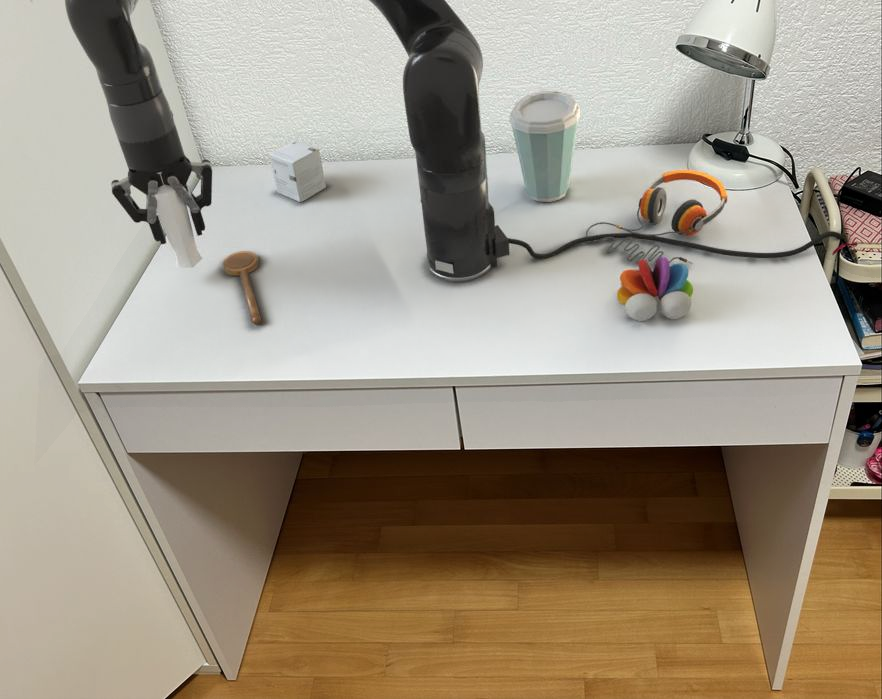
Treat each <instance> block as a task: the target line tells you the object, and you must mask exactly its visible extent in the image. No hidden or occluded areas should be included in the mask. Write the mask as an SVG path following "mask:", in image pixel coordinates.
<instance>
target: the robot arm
mask: <svg viewBox="0 0 882 699" xmlns="http://www.w3.org/2000/svg"><path fill="white" fill-rule="evenodd" d="M138 2H139V0H64V7H65V12H66V14H67V15H66V16H67V19H68V22H69V24H70V27H71V29H72V32H73V33H74V35H75V37H76V39H77V40H78V42H79V44H80V46H81V47H82V49H83V51H84V53H85V54H86V56H87V58H88V59H89V61H90V62H91V64H92V65H93V67H94V68H95V72H96V75H97V78H98V81H99V84H100V87H101V89H102V91H103V95H104V99H105V102H106V105H107V108H108V113H109V117H110V118H109V119H110V122H111V123H112V124H111V125H112V127H113V129H114V132H115V135H116V138H117V140H118V143H119V146H120V149H121V152H122V154H123V157H124V160H125V162H126V166H127V168H128V172H127V176H126V177H125V178H122V179H121V180H118V179H113V180H112V181H111V183H110V184H111V194H112V195H113V197H114V198H115V199H116V200H117V202H118V203H119V204H120V206H121V207H122V208H123V210H124V211H125V212H126V213H127V215H128V216H129V217H130V219H131V220H132V221H133V222H134V223H136V224H139V223H141V222H143V223H147V224H148V225H149V228H150V231H151V234H152V236H153V239H154V241H155V242H160V245H165V244H167V239H166V238H167V237H166V233H165V230H164V228H163V226H162V223H161V221H160V219H159V216H158V214H157V212H156V209H157V199H156V198H155V196H154V195H155V194H157V192H158V188H159V187H161V186H163V183H164V185H169V186H171V187H172V188H173V189H174V190H175V191H176V193H177V194H178V195H179V197H180V198H181V199H182V201H183V202H184V203H186V205H187V208H188V210H189V213H190V216H191V220H192V223H193V227H194V230H195V232H196V236H197V237H200V236H202V235H203V231H205V230H206V224H205V220H204V217H203V214H202V209H203V208H205V207H210V206H211V205H212V196H213V195H212V194H213V169H212V165H211V161H210V160H209V159H203V160H201V162H197V161H194V162H193V161H191V160H190V159H189V158H188V157H187V156H186V154H185V151H184V148H183V146H182V142H181V139H180V135H179V132H178V129H177V125H176V122H175V118H174V113H173V111H172V110H171V106H170V103H169V101H168V99H167V97H166V95H165V92H164V90H163V88H162V84H161V81H160V77H159V74H158V71H157V69H156V65H155V64H156V63H155V62H154V58H153V57H152V55H151V52H150V51H149V49H148V48H147V46H145V45H143V44H141V43H139V40H138V38H137V35H136V33H135V30H134V28H133V23H132V20H131V16H132V15H133V13H134V11H135V9H136V7H137V4H138ZM368 2H370V3H371V4H372V5H373V6H374V7H375V8H376V9H377V10H378V12H380V13H381V14H382V16H383V17H384V19H385V20H386V21H387V23H388V24H389V26H390V28H392V30H393V32H394V33H395V35H396V37H397V38H398V40H399V42H400V44H401V45H402V47H403V49H404V51H405V53H406V55H407V57H408V59H407V61H406V63H405V66H404V69H403V74H402V93H403V103H404V109H405V115H406V123H407V129H408V135H409V140H410V144H411V146H412V148H413V150H414V153H415V161H416V162H415V163H416V169H417V177H418V186H419V194H420V204H421V212H422V220H423V229H424V230H423V231H424V237H425V246H426V258H427V268H428V271H429V272H430V274H431V275H432V276H434V277H435V278H437V279H439V280H442V281H445V282H449V283H464V282H470V281H474V280H477V279H479V278H481V277H483V276H484V275H486V274H487V273H489V271H490V270H492V269H494V268H496V267H498V259H500V258H504V257H506V256H510V245H516V246H519V247H522V248H524V249H526V251H527V253H528V254H529V255H530V257H532V258H534V259H536V260H546V259H550V258H553V257H555V256H557V255H559V254H562V253H564V251H567V250H568V249H570V248H572V247H574V246H576V245H581V244H583V243H588V242H589V243H590V241H596V240H599V239H602V238H605V237H614V238H615V239H625V238H627V237H632V238H633V239H635V240H636V239H637V240H646V241H651V242H652V241H654V242H658V243H663V244H668V245H674V246H679V247H683V248H689V249H694V250H697V251H698V250H699V251H703V252H708V253H711V254H712V253H713V254H717V255H722V256H731V257H737V258H738V257H739V258H750V259H781V258H787V257H792V256H795V255H799V254H801V253H803V252H805V251H807V250H809V249H810V248H812V247H814V246H815V245H816V244H818V243H819V242H821V241H822V240H824V239H827V238H830V237H831V238H832V237H833V238H836V239H837V240H844V239H845V237H844V236H843V234H841V233H840V232H838V231H834V230H833V231H832V230H829V231H826V232H823V233H821V234H819V235H817V236H815V238H813V239H811V240H810V241H808V242H807V243H805V244H803V245H801V246H799V247H797V248H795V249H791V250H786V251H778V252H776V251H775V252H753V251H742V250H741V251H740V250H732V249H726V248H725V249H724V248H718V247H713V246H708V245H704V244H699V243H695V242H690V241H686V240H679V239H673V238H669V237H663V236H660V235H659V236H644V235H638V234H633V233H630V232H614V233H613V232H612V233H611V232H610V233H602V234H595V235H587V236H588V237H586V236H583V237H580V238H576V239H573V240H571V241H569V242H567V243H565V244H563V245H561V246H560V247H559V248H557V249H554V250H553V251H550V252H548V253H537V252H535V250H534V249H533V248H532V246H531V245H530V244H529V243H527V242H525V241H523V240H521V239H516V238H511V237H508V236H507V235H506V234H505V232H504V231H503V230H502V229H501V227H500V226H499V225H498V224H497V225H496V217H495V209H494V206H492V204H491V203H490V200H489V184H488V182H489V181H488V168H487V167H488V166H487V150H486V137H485V134H484V132H483V130H482V124H481V123H482V122H481V110H480V109H481V107H480V92H479V87H480V82H481V79H482V76H483V68H484V58H483V53H482V49H481V47H480V46H481V45H480V44H479V42H478V41H477V39H476V37H475V36H474V34H473V33H472V32H471V31H470V29H469V28H468V27H467V25H466V24H465V23H464V22H463V20H462V19H461V18H460V17H459V15H458V14H457V13H456V12H455V11H454V9H453V8H452V7H451V5H450V4H449V3H448V2H447V1H446V0H368ZM159 172H162V173H161V176H160V174H157V173H159ZM192 172H193V173H194V174H195V175H196V178H197V179H199V180H200V194H199V195H197V196H196V195H195V194H194V193H193V191H192V189H191V187H190V186H189V184H188V182H189V179H190V176H191V174H192ZM161 177H162V179H161ZM162 180H163V182H162ZM131 186H132V187H133V188H135V189H137V190H138V191H140V192H141V193H142V194H144V195H145V200H146V201H145V202H146V203H145V204H146V205H145V208H140V206H139V205H138V204H137V203H136V200H134V198H133V197H132V195H131V193H132V190H131ZM152 195H153V196H152ZM152 201H153V202H152ZM609 239H610V240H613V239H612V238H608V239H607V240H609Z"/></svg>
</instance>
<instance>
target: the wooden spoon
mask: <svg viewBox="0 0 882 699" xmlns="http://www.w3.org/2000/svg"><path fill="white" fill-rule="evenodd" d="M259 262H260V261H259V257H258V255H257V254H256V253H255V252H254V251H253V252H252V251H249V250H242V251H241V250H239V251H236V252H233V253H231V254H230V255H227V257H225V258H224V259H223V261H222V267H223V270H224V273H226V274H227V275H229V276H236V277H237V276H239V277H240V281H241V285H242V289H243V292H244V296H245V300H246V303H247V307H248V311H249V314H250V319H251V322H252V324H254V325H260V324H261V322H262V318H261V315H260V314H261V313H260V312H259V308H258V304H257V300H256V297H255V293H254V289H253V286H252V282H251V279H250V276H249V274H250V273H251V272H253V271H254V270H256V269H257V268H258V266H259Z"/></svg>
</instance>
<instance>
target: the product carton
mask: <svg viewBox="0 0 882 699" xmlns="http://www.w3.org/2000/svg"><path fill="white" fill-rule="evenodd" d="M268 156H269V160H270V165H271V169H272V174H273V179H274V183H275V188H276V192H277V193H278V194H280V195H283V196H285V197H287V198H290V199H292V200H294V201H296V202H298V203H302V202H304V201H306V200H308V199H309V198H311V197H312V196H315V195H316V194H317V193H320V192H321V191H323V190H325V189H326V188H327V185H326V178H325V172H324V168H323V163H322V162H323V161H322V158H321V151H320V148H317V147H315V146H312V145H311V144H309V143H304V142H302V141H299V140H296V139H294V140H293V141H291V142H289V143H287V144H285V145H283V146H282V147H280V148H277V149H275V150H273V151H272V152H270V153H269V154H268Z"/></svg>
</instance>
